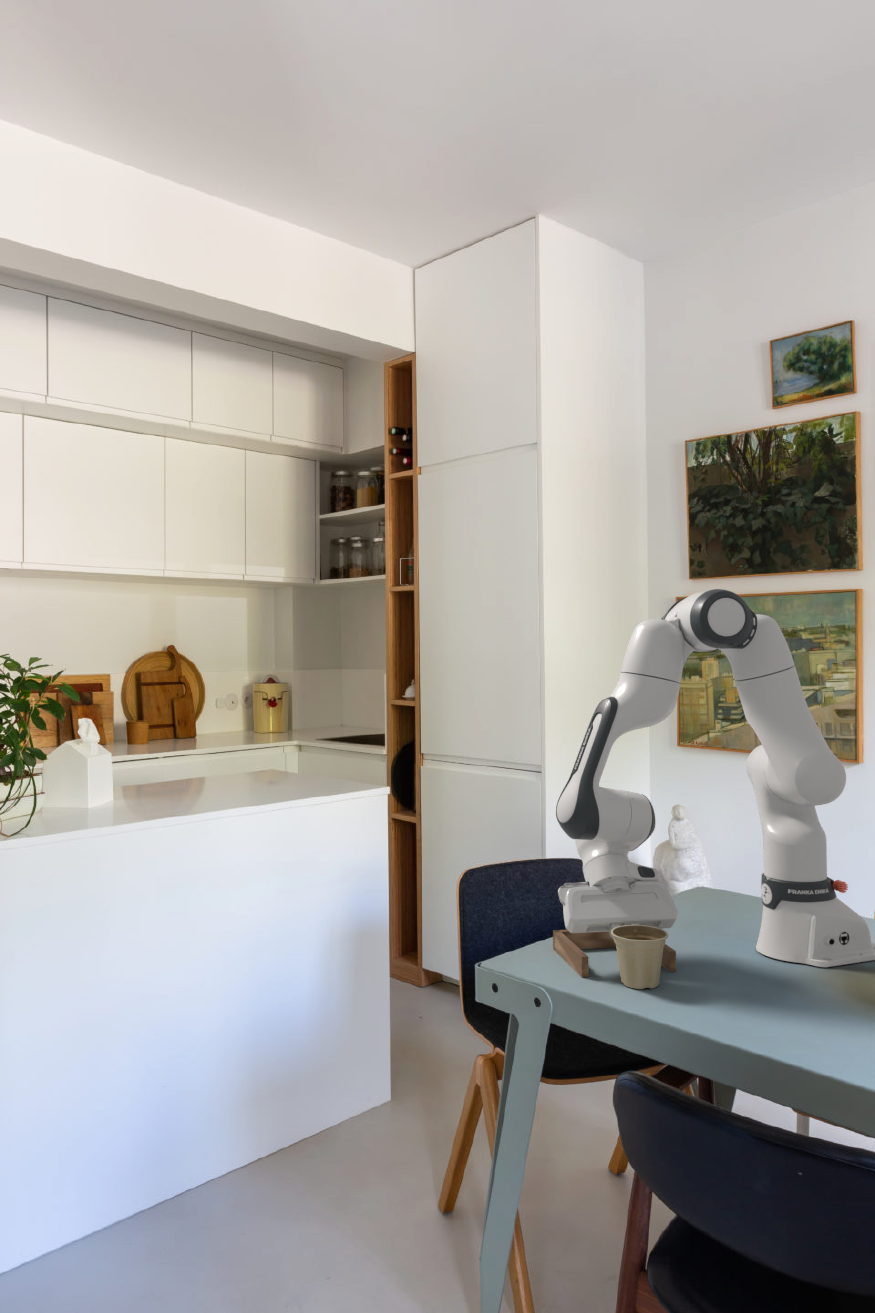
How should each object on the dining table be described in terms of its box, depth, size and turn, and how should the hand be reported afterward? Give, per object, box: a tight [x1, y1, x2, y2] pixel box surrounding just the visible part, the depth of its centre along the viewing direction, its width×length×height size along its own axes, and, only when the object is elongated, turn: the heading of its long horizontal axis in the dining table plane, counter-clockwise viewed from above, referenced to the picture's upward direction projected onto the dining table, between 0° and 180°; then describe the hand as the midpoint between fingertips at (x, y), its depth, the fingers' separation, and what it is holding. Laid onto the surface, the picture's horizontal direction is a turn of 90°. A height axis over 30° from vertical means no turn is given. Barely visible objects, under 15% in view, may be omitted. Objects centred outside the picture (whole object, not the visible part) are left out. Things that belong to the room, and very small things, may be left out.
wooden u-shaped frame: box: [552, 929, 677, 978], centre depth 169 cm, size 17×17×4 cm
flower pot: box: [611, 925, 669, 990], centre depth 156 cm, size 9×9×9 cm
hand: (630, 950), depth 160 cm, fingers closed
